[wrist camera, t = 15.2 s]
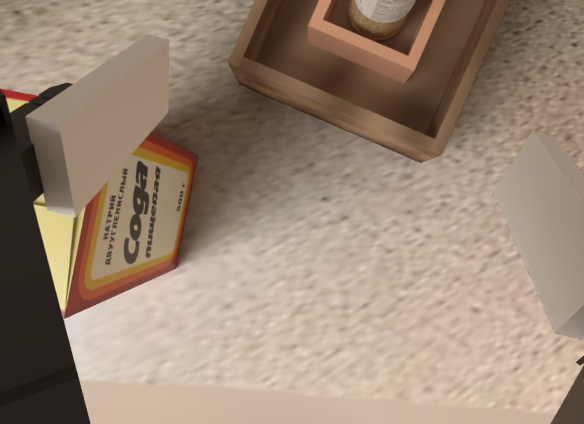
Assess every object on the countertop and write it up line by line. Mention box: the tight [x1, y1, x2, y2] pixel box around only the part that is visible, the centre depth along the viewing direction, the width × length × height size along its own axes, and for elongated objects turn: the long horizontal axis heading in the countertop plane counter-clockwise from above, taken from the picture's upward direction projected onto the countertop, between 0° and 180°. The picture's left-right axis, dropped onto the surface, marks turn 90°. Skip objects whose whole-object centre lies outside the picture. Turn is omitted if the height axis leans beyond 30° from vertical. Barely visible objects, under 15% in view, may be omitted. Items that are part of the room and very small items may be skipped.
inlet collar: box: [308, 0, 445, 84], centre depth 31 cm, size 8×8×3 cm
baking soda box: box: [0, 89, 198, 319], centre depth 26 cm, size 10×6×16 cm
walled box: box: [228, 0, 510, 163], centre depth 31 cm, size 16×18×5 cm
